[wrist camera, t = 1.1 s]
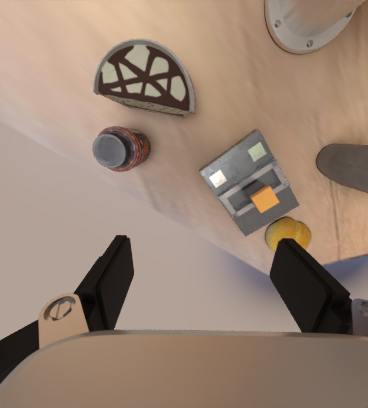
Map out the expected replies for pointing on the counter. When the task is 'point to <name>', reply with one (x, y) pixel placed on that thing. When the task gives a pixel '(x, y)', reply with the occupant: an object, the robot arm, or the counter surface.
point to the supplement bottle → (120, 148)
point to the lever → (260, 195)
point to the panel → (243, 175)
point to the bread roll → (288, 233)
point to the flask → (345, 165)
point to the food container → (145, 78)
